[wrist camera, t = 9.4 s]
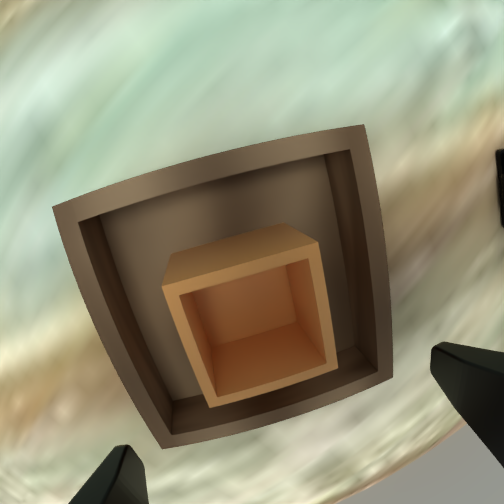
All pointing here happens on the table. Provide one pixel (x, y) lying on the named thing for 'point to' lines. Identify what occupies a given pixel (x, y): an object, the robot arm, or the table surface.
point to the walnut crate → (220, 227)
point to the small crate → (252, 312)
